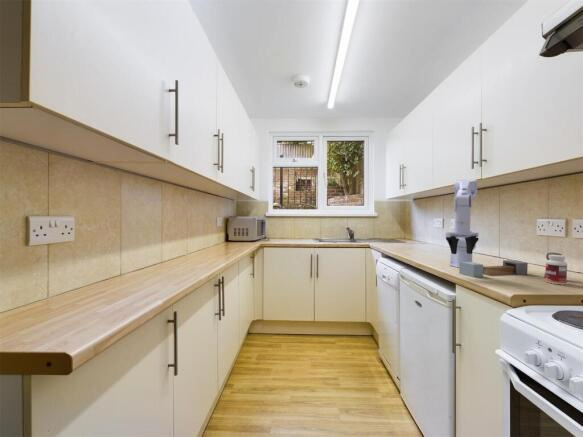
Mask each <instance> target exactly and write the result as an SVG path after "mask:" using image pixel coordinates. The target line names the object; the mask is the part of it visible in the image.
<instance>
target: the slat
mask: <svg viewBox="0 0 583 437" xmlns="http://www.w3.org/2000/svg"><path fill="white" fill-rule="evenodd" d="M499 275H500V276H501V275H502V276H503V275H517V274H516V267H514V266H503V265H491V266H489V265H488V266H487V265H486V266H484V265H483V276H499Z"/></svg>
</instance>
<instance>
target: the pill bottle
mask: <svg viewBox="0 0 583 437" xmlns="http://www.w3.org/2000/svg"><path fill="white" fill-rule="evenodd" d="M548 258H549V260H547V259H546V261H545V269H544V270H545V271H544V276H545V278H544V282H545V283H547V282H548V284H551V283H552V285H557V284H561V285H560V286H564V285H567V278H568V276H567V275H568V262H566V261H565V259H566V256H565V255H563V254H562V255H549V257H548Z"/></svg>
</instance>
